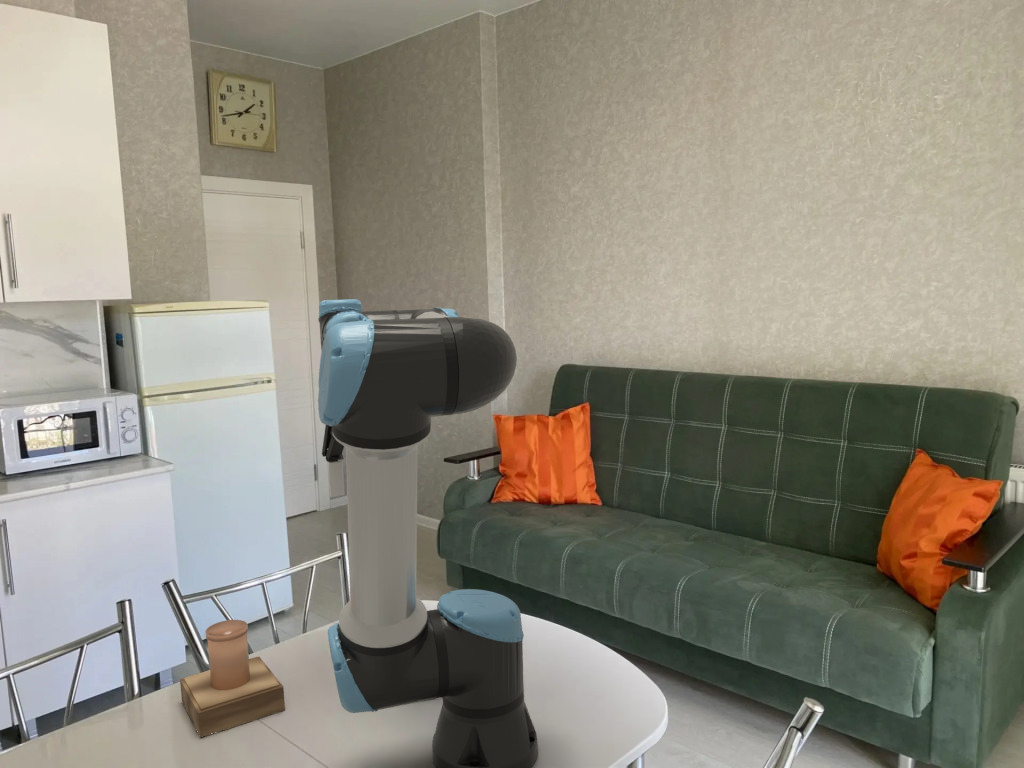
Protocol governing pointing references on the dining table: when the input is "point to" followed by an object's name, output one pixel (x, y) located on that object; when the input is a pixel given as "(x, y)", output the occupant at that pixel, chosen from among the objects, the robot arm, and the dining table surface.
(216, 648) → the canister
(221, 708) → the stand
